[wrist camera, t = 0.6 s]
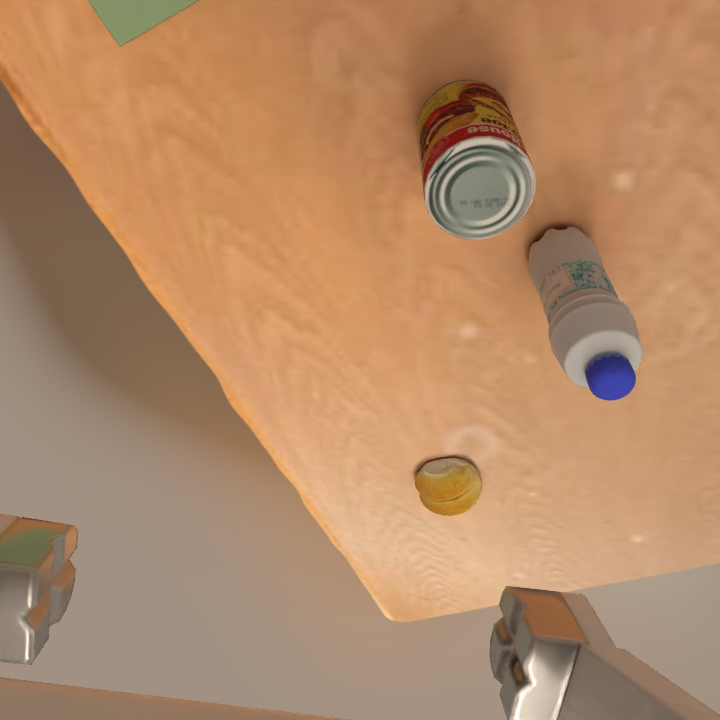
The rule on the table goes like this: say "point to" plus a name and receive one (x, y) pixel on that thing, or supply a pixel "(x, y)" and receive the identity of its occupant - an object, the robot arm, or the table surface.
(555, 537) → the table surface
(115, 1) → the trivet
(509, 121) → the canned food
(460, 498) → the bread roll
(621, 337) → the bottle
